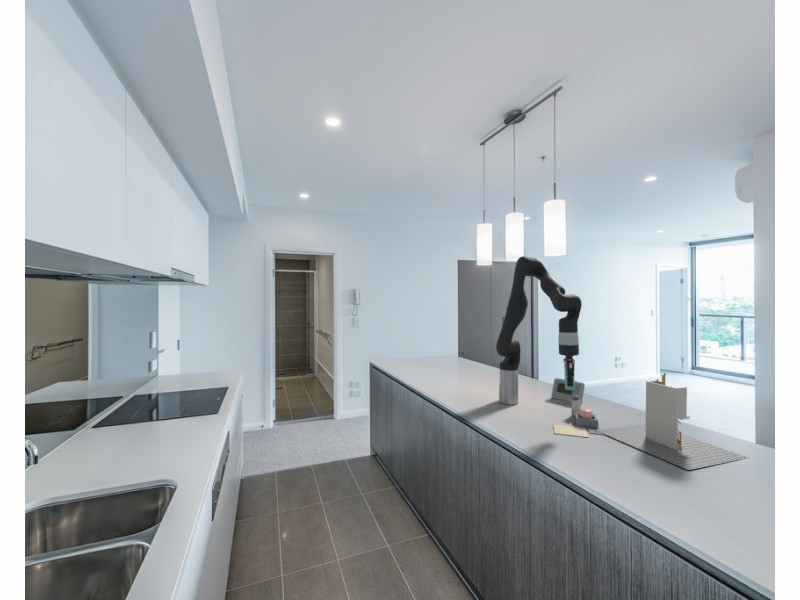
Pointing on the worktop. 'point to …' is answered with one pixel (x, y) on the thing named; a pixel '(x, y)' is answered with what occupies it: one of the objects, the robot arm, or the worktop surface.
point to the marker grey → (575, 404)
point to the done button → (586, 413)
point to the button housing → (586, 421)
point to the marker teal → (566, 383)
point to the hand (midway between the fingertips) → (569, 385)
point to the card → (593, 431)
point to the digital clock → (562, 393)
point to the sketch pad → (570, 431)
